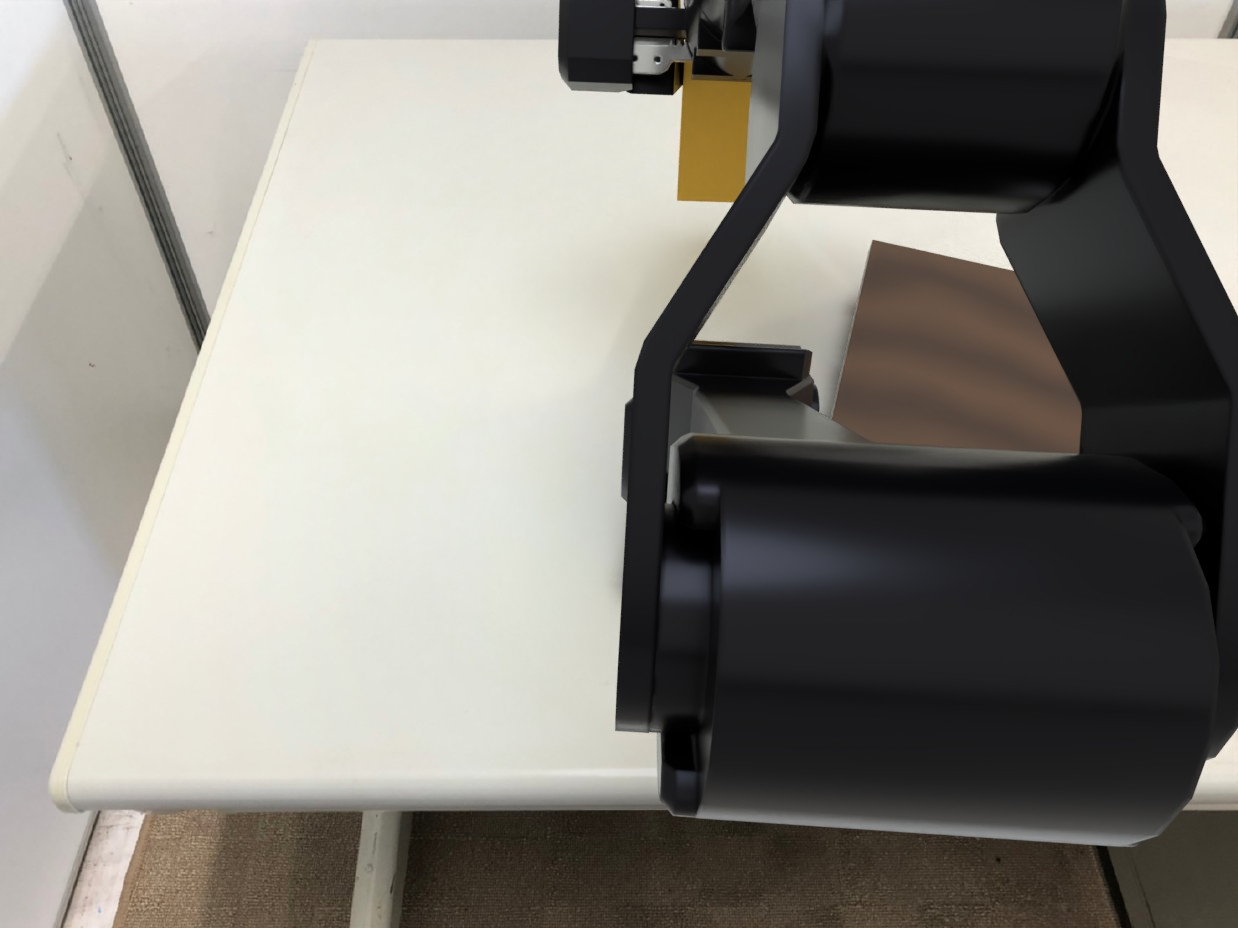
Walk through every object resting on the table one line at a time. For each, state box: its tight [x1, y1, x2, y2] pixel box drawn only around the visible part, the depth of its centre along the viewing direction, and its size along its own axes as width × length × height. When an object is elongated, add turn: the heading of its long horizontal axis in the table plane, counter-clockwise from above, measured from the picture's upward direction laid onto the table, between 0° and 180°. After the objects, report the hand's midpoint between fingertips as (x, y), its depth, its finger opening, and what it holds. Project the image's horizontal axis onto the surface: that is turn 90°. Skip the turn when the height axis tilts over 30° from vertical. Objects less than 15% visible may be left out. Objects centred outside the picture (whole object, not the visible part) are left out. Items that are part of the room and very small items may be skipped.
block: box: [676, 40, 752, 203], centre depth 49 cm, size 5×5×13 cm
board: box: [829, 239, 1082, 454], centre depth 50 cm, size 18×14×5 cm
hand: (723, 74), depth 49 cm, fingers closed on block, 5 cm apart
